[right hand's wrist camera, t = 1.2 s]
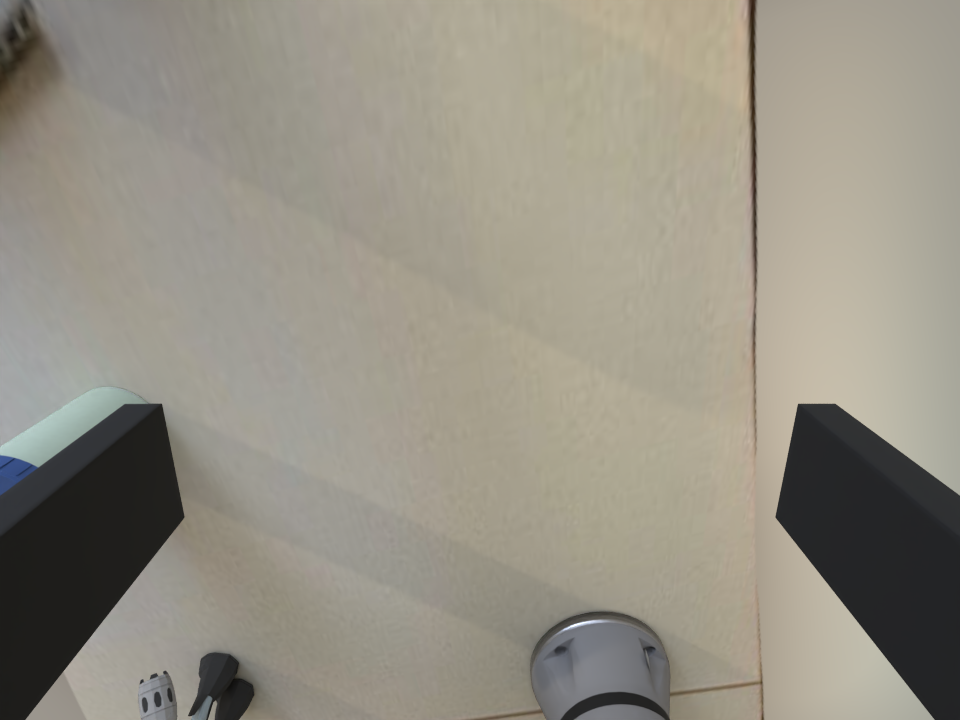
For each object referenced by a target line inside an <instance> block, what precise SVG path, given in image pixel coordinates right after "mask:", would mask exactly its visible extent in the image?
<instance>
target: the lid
mask: <svg viewBox="0 0 960 720" xmlns="http://www.w3.org/2000/svg"><path fill="white" fill-rule="evenodd" d="M37 468H38V467H37V466H35V465H33V464H31V463H28V462H26V461H23V460H21V459H17V458H14V457H9V456H3V455H0V495H2V494H3V493H4V492H6V491H7V490H9V489H10V488H11V487H13V486H14V485H15V484H17V483H18V482H19V481H21V480H22V479H23V478H25V477H26V476H28V475H29V474H30V473H32V472H33V471H34V470H36V469H37Z"/></svg>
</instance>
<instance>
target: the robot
mask: <svg viewBox="0 0 960 720" xmlns="http://www.w3.org/2000/svg"><path fill="white" fill-rule="evenodd" d="M238 664H239V663H238V662H237V661H236V660H235V659H234V658H233V657H232V656H231V655H228V654H221V653H210V654H207V655H206V656H204V657H203V658H202V659H201V662H200V668H199V676H200V678H201V679H200V683H199V688H198V693H197V697H196V700H195V702H194V704H193V706H192V708H191V710H190V713H189V715H188V716H192V715H193V716H192V719H191V720H208V717H209V714H210V711H211V708H212V704H213V702H214V701H215V700H216V701H217V707H216V713H215V720H239V719H240V718H241V716H242V715H243V714H244V712H245V711H246V709H247V708H248V706H249V704H250V702H251V700H252V698H253V696H254V691H253V686H252V685H251V684H249V683H247V682H245V681H243V680H241V679H239V680H233V679H234V676H235V674H236V673H237V669H238ZM163 673H164V675H161V676H158V675H157V673H156V674H153V675H151V678H150V680H148V681H146V682H144V681H143V679H142V680H141V681H140V685H139V693H138V701H139V708H140V714H141V719H142V720H177V716H178V715H177V702H176V697H175V691H174V687H173V684H172V680H171V678H170V676H169V674H168V673H167V672H166V671H164V672H163Z"/></svg>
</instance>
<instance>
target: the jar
mask: <svg viewBox="0 0 960 720" xmlns="http://www.w3.org/2000/svg"><path fill="white" fill-rule="evenodd" d="M124 404H148V403H147V402H146V401H145V400H144V399H142V398H141V397H139V396H138V395H136V394H134V393H132V392H130V391H127V390H124V389H121V388H116V387H100V388H95V389H92V390H90V391H88V392H86V393H84V394H83V395H81V396H79V397H78V398H76V399H75V400H73V401H72V402H70V403H68V404H67V405H65V406H64V407H62V408H60V409H59V410H57V411H56V412H54V413H53V414H51V415H49V416H48V417H46V418H45V419H43V420H42V421H40V422H38V423H37V424H35V425H34V426H32V427H31V428H29V429H27V430H26V431H24V432H23V433H21V434H20V435H18V436H16V437H15V438H13V439H12V440H10V441H9V442H7V443H5V444H4V445H2V446H1V447H0V455H3V456H9V457H14V458H17V459H21V460H23V461H26V462H28V463H31V464H33V465H35V466H37V467H40V466H41V465H42V464H44V463H45V462H47V461H48V460H49V459H51V458H52V457H53V456H55V455H56V454H57V453H59V452H60V451H61V450H63V449H64V448H66V447H67V446H68V445H70V444H71V443H72V442H74V441H75V440H76V439H78V438H79V437H80V436H82V435H83V434H85V433H86V432H87V431H89V430H90V429H91V428H93V427H94V426H95V425H97V424H98V423H99V422H101V421H102V420H104V419H105V418H106V417H108V416H109V415H110V414H112V413H113V412H114V411H116V410H117V409H118V408H120V407H121V406H123V405H124Z"/></svg>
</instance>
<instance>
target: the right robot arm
mask: <svg viewBox="0 0 960 720" xmlns="http://www.w3.org/2000/svg"><path fill="white" fill-rule="evenodd" d="M183 519H184V512H183V507H182V502H181V497H180V492H179V487H178V482H177V477H176V472H175V467H174V462H173V457H172V452H171V447H170V442H169V437H168V432H167V427H166V422H165V417H164V412H163V407H162V404H124V405H123V406H121V407H120V408H118V409H117V410H116V411H114V412H113V413H112V414H110V415H109V416H108V417H106V418H105V419H104V420H102V421H101V422H99V423H98V424H97V425H95V426H94V427H93V428H91V429H90V430H89V431H87V432H86V433H85V434H83V435H82V436H80V437H79V438H78V439H76V440H75V441H74V442H72V443H71V444H70V445H68V446H67V447H66V448H64V449H63V450H61V451H60V452H59V453H57V454H56V455H55V456H53V457H52V458H51V459H49V460H48V461H47V462H45V463H44V464H42V465H41V466H40V467H38V468H37V469H36V470H34V471H33V472H32V473H30V474H29V475H28V476H26V477H25V478H23V479H22V480H21V481H19V482H18V483H17V484H15V485H14V486H13V487H11V488H10V489H9V490H7V491H6V492H4V493H3V494H2V495H0V720H25V719H26V718H27V717H28V716H29V714H30V713H31V712H32V710H33V709H34V708H35V707H36V705H37V704H38V703H39V702H40V700H41V699H42V698H43V696H44V695H45V694H46V693H47V691H48V690H49V689H50V688H51V686H52V685H53V684H54V682H55V681H56V680H57V679H58V677H59V676H60V675H61V674H62V672H63V671H64V670H65V669H66V667H67V666H68V665H69V663H70V662H71V661H72V660H73V658H74V657H75V656H76V655H77V653H78V652H79V651H80V649H81V648H82V647H83V646H84V644H85V643H86V642H87V641H88V639H89V638H90V637H91V636H92V634H93V633H94V632H95V630H96V629H97V628H98V627H99V625H100V624H101V623H102V622H103V620H104V619H105V618H106V616H107V615H108V614H109V613H110V611H111V610H112V609H113V608H114V606H115V605H116V604H117V602H118V601H119V600H120V599H121V597H122V596H123V595H124V594H125V592H126V591H127V590H128V589H129V587H130V586H131V585H132V583H133V582H134V581H135V580H136V578H137V577H138V576H139V575H140V573H141V572H142V571H143V569H144V568H145V567H146V566H147V564H148V563H149V562H150V561H151V559H152V558H153V557H154V555H155V554H156V553H157V552H158V550H159V549H160V548H161V547H162V545H163V544H164V543H165V542H166V540H167V539H168V538H169V536H170V535H171V534H172V533H173V531H174V530H175V529H176V528H177V526H178V525H179V524H180V522H181V521H182V520H183ZM776 519H777V520H778V521H779V522H780V524H781V525H782V526H783V528H784V529H785V530H786V531H787V533H788V534H789V535H790V536H791V538H792V539H793V540H794V541H795V543H796V544H797V545H798V547H799V548H800V549H801V550H802V552H803V553H804V554H805V555H806V557H807V558H808V559H809V561H810V562H811V563H812V564H813V566H814V567H815V568H816V569H817V571H818V572H819V573H820V575H821V576H822V577H823V578H824V580H825V581H826V582H827V583H828V585H829V586H830V587H831V589H832V590H833V591H834V592H835V594H836V595H837V596H838V597H839V599H840V600H841V601H842V602H843V604H844V605H845V606H846V608H847V609H848V610H849V611H850V613H851V614H852V615H853V616H854V618H855V619H856V620H857V622H858V623H859V624H860V625H861V627H862V628H863V629H864V630H865V632H866V633H867V634H868V636H869V637H870V638H871V639H872V641H873V642H874V643H875V644H876V646H877V647H878V648H879V649H880V651H881V652H882V653H883V655H884V656H885V657H886V658H887V660H888V661H889V662H890V663H891V665H892V666H893V667H894V669H895V670H896V671H897V672H898V674H899V675H900V676H901V677H902V679H903V680H904V681H905V683H906V684H907V685H908V686H909V688H910V689H911V690H912V691H913V693H914V694H915V695H916V696H917V698H918V699H919V700H920V702H921V703H922V704H923V705H924V707H925V708H926V709H927V710H928V712H929V713H930V714H931V716H932V717H933V718H934V719H935V720H960V496H959V495H958V494H957V493H956V492H954V491H953V490H951V489H950V488H949V487H947V486H946V485H945V484H943V483H942V482H941V481H939V480H938V479H936V478H935V477H934V476H932V475H931V474H930V473H928V472H927V471H926V470H924V469H923V468H922V467H920V466H919V465H918V464H916V463H915V462H913V461H912V460H911V459H909V458H908V457H907V456H905V455H904V454H903V453H901V452H900V451H899V450H897V449H896V448H894V447H893V446H892V445H890V444H889V443H888V442H886V441H885V440H884V439H882V438H881V437H879V436H878V435H877V434H875V433H874V432H873V431H871V430H870V429H869V428H867V427H866V426H865V425H863V424H862V423H861V422H859V421H858V420H856V419H855V418H854V417H852V416H851V415H850V414H848V413H847V412H846V411H844V410H843V409H842V408H840V407H839V406H837V405H836V404H798V407H797V412H796V417H795V422H794V427H793V432H792V437H791V442H790V447H789V452H788V457H787V462H786V467H785V472H784V477H783V482H782V487H781V492H780V497H779V502H778V507H777V512H776ZM530 671H531V682H532V687H533V691H534V694H535V697H536V699H537V701H538V703H539V705H540V707H541V709H542V711H543V713H544V716H545V718H546V720H670V718H669V708H670V669H669V662H668V658H667V655H666V653H665V650H664V647H663V645H662V643H661V641H660V639H659V637H658V636H657V635H656V633H655V632H654V631H653V630H652V629H651V628H650V627H648V626H647V625H646V624H644V623H643V622H641V621H639V620H637V619H635V618H633V617H630V616H627V615H623V614H619V613H612V612H593V613H586V614H581V615H578V616H574V617H572V618H569V619H567V620H565V621H563V622H561V623H559V624H557V625H556V626H554V627H553V628H552V629H550V630H549V631H548V632H547V633H546V634H545V635H544V636H543V637H542V638H541V639H540V641H539V642H538V644H537V645H536V647H535V649H534V651H533V654H532V658H531V664H530Z"/></svg>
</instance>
